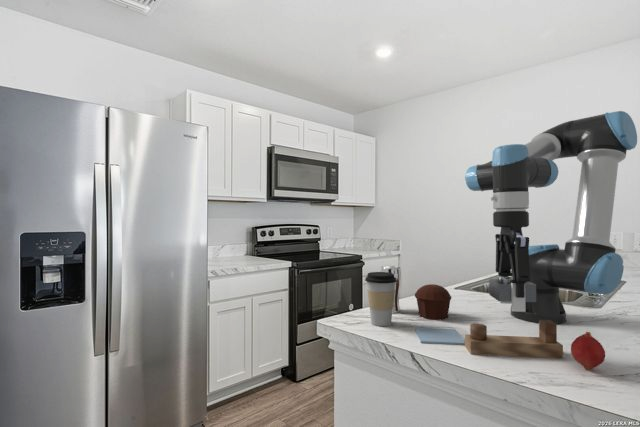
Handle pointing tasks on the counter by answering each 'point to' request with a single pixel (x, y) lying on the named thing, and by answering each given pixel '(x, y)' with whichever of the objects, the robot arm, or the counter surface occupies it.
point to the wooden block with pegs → (515, 342)
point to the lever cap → (509, 290)
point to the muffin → (433, 302)
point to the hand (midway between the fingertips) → (512, 306)
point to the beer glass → (397, 275)
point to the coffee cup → (381, 297)
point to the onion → (587, 351)
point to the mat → (439, 336)
